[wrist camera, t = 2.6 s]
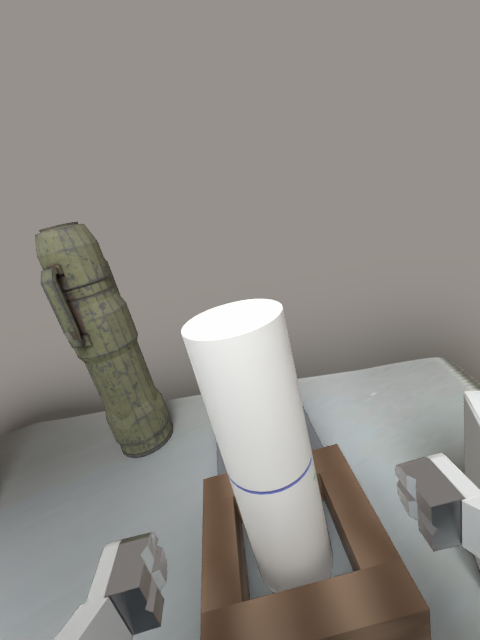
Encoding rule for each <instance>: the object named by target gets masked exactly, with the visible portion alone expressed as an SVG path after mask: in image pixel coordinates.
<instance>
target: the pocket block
mask: <svg viewBox="0 0 480 640" xmlns="http://www.w3.org/2000/svg"><path fill="white" fill-rule="evenodd" d="M312 455H313V460H314V465H315V470H316V475H317V480H318V485H319V490H320V495H321V500H322V501H324V500H325V502H326V504H327V507H328V509H329V512H330V514H331V517H332V519H333V522H334V524H335V527H336V529H337V532H338V534H339V536H340V539H341V541H342V544H343V546H344V549H345V551H346V554H347V556H348V559H349V561H350V564H351V566H352V568H353V571H354V572H351V573H347V574H343V575H340V576H336V577H332V578H329V579H325V580H321V581H318V582H314V583H310V584H306V585H303V586H299V587H295V588H292V589H288V590H284V591H281V592H277V593H273V594H270V595H266V596H262V597H259V598H255V599H251V600H250V596H249V587H248V578H247V568H246V559H245V550H244V540H243V531H242V522H243V519H242V516H241V513H240V510H239V507H238V504H237V501H236V498H235V495H234V492H233V489H232V486H231V483H230V479H229V476H228V473H226V474H222V475H218V476H215V477H211V478H207V479H204V484H203V535H202V586H201V637H200V640H431V631H430V610H429V607H428V606H427V604H426V602H425V600H424V599H423V597H422V595H421V593H420V591H419V590H418V588H417V586H416V584H415V582H414V581H413V579H412V577H411V575H410V574H409V572H408V570H407V568H406V566H405V565H404V563H403V561H402V559H401V557H400V556H399V554H398V552H397V550H396V549H395V547H394V545H393V543H392V541H391V540H390V538H389V536H388V534H387V532H386V531H385V529H384V527H383V525H382V524H381V522H380V520H379V518H378V516H377V515H376V513H375V511H374V509H373V507H372V506H371V504H370V502H369V500H368V498H367V497H366V495H365V493H364V491H363V490H362V488H361V486H360V484H359V482H358V481H357V479H356V477H355V475H354V473H353V472H352V470H351V468H350V466H349V465H348V463H347V461H346V459H345V457H344V456H343V454H342V452H341V450H340V448H339V447H338V445H337V444H335V445H331V446H327V447H324V448H320V449H316V450H312Z"/></svg>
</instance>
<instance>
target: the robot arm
mask: <svg viewBox="0 0 480 640" xmlns="http://www.w3.org/2000/svg"><path fill="white" fill-rule="evenodd" d="M395 474H396V475H397V477H398V478H399V481H398V483H397V491H398V494H399V497H400V500H401V502H402V504H403V506H404V508H405V510H406V511H407V513H408V514H409V516H410V517H412V518H414V519H416V520H417V521H418V525H419V531H420V532H421V534H422V535H423V537H424V538H425V540H426V541H427V542H428V544H429V545H430V547H431V548H432V550H433V551H438V550H442V549H446V548H451V547H455V546H459V545H462V547H464V548H465V549H467V550H468V551H469V552H471V553H472V554H474V555H475V556H477V557H478V558H480V489H479V488H478V487H477V486H476V485H475V484H474V483H473V482H472V481H471V480H470V479H469V478H468V477H467V476H466V475H465V474H464V473H463V472H462V471H461V470H460V469H459V468H458V467H457V466H456V465H455V464H454V463H453V462H451V461H450V460H449V459H448V458H447V457H446V456H445V455H444V454H442V453H438V454H435V455H431V456H427V457H423V458H419V459H416V460H412V461H409V462H405V463H402V464H398V465H396V467H395ZM157 541H158V538H157V536H156V535H155V533H154V532H151V533H147V534H143V535H139V536H134V537H130V538H126V539H122V540H119V541H115V542H111V543H107V544H106V546H105V547H104V549H103V551H102V554H101V557H100V561H99V564H98V567H97V570H96V573H95V576H94V579H93V582H92V585H91V588H90V591H89V594H88V597H87V600H86V603H84V604H81V605H80V606H79V607H78V609H77V610H76V611H75V613H74V614H73V615H72V616H71V618H70V619H69V620H68V622H67V623H66V624H65V626H64V627H63V628H62V629H61V631H60V632H59V633H58V635H57V636H56V637H55V638H54V640H132V638H133V636H132V635H135V634H138V633H142V632H145V631H148V630H151V629H154V628H158V627H161V620H162V612H163V604H164V599H163V597H162V595H161V593H160V592H161V590H162V589H163V587H164V586H165V584H166V579H167V560H166V556H165V553H164V551H163V548H161V547H159V546H157Z"/></svg>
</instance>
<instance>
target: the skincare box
mask: <svg viewBox="0 0 480 640" xmlns="http://www.w3.org/2000/svg"><path fill="white" fill-rule="evenodd" d="M464 448H465V449H464V453H465V475H466V476H467V477H468V478H469V479H470V480H471V481H472V482H473V483H474V484H475V485H476V486H477V487H478V488H479V489H480V391H464ZM474 556H475V555H474ZM475 559H476V562H477V564H478V567H479V570H480V558H478V557H477V556H475Z"/></svg>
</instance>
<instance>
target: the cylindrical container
mask: <svg viewBox="0 0 480 640" xmlns="http://www.w3.org/2000/svg"><path fill="white" fill-rule="evenodd" d="M181 333H182V337H183V340H184V343H185V346H186V349H187V352H188V355H189V358H190V361H191V364H192V367H193V370H194V373H195V377H196V379H197V383H198V386H199V389H200V391H201V395H202V398H203V401H204V404H205V407H206V410H207V413H208V416H209V419H210V422H211V425H212V428H213V431H214V434H215V437H216V440H217V443H218V446H219V449H220V452H221V455H222V458H223V461H224V464H225V467H226V470H227V473H228V476H229V479H230V483H231V486H232V489H233V492H234V495H235V498H236V501H237V504H238V507H239V510H240V513H241V516H242V519H243V522H244V525H245V528H246V531H247V534H248V537H249V540H250V543H251V546H252V550H253V553H254V556H255V559H256V562H257V565H258V568H259V571H260V574H261V577H262V579H263V580H264V582H265V584H266V585H267V586H268V588H269V589H270V590H271V591H272V592H274V593H277V592H281V591H284V590H288V589H292V588H295V587H299V586H303V585H306V584H310V583H314V582H318V581H321V580H325V579H329V578H330V576H331V572H332V568H333V556H332V549H331V544H330V540H329V535H328V530H327V525H326V520H325V515H324V510H323V505H322V500H321V495H320V490H319V485H318V480H317V475H316V470H315V465H314V460H313V455H312V450H311V445H310V441H309V436H308V431H307V426H306V421H305V416H304V411H303V406H302V401H301V396H300V391H299V386H298V381H297V376H296V371H295V366H294V362H293V357H292V351H291V346H290V341H289V336H288V332H287V327H286V322H285V317H284V313H283V307H282V305H281V304H280V303H279V302H277V301H274V300H271V299H249V300H241V301H236V302H232V303H228V304H224V305H221V306H218V307H215V308H212V309H209V310H207V311H205V312H203V313H200V314H199V315H197V316H195V317H193V318H192V319H190V320H189V321H188V322H187V323H186V324H185V325H184V326H183V328H182V330H181Z"/></svg>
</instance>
